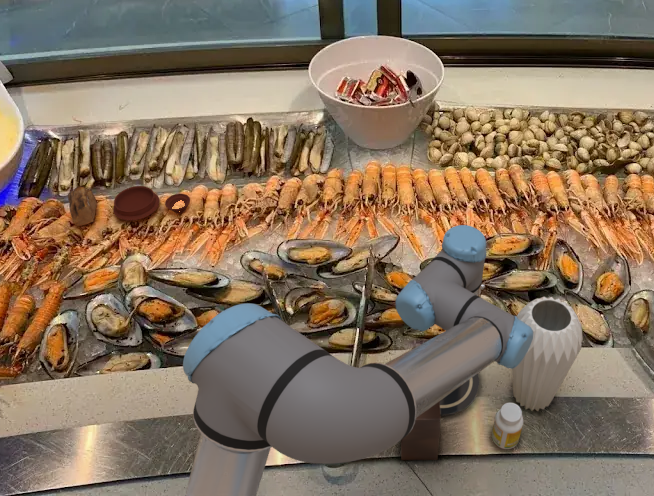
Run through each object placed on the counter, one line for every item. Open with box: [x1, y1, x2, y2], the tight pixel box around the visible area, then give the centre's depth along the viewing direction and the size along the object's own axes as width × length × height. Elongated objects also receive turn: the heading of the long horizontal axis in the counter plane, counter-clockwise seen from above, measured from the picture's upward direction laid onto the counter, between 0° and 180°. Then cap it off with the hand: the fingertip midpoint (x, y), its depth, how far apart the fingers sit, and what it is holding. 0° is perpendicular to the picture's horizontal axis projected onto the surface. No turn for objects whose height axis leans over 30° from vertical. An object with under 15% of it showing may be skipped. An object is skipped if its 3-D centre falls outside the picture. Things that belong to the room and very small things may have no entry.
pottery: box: [112, 185, 191, 222], centre depth 176 cm, size 12×20×4 cm, turn 92°
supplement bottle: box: [491, 402, 524, 450], centre depth 127 cm, size 5×5×10 cm
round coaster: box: [440, 373, 480, 417], centre depth 139 cm, size 16×16×1 cm
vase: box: [511, 296, 584, 412], centre depth 129 cm, size 13×13×26 cm
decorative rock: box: [67, 186, 98, 227], centre depth 171 cm, size 12×6×11 cm, turn 18°
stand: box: [400, 401, 442, 461], centre depth 124 cm, size 7×7×15 cm
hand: (453, 366), depth 139 cm, fingers closed on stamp, 4 cm apart
